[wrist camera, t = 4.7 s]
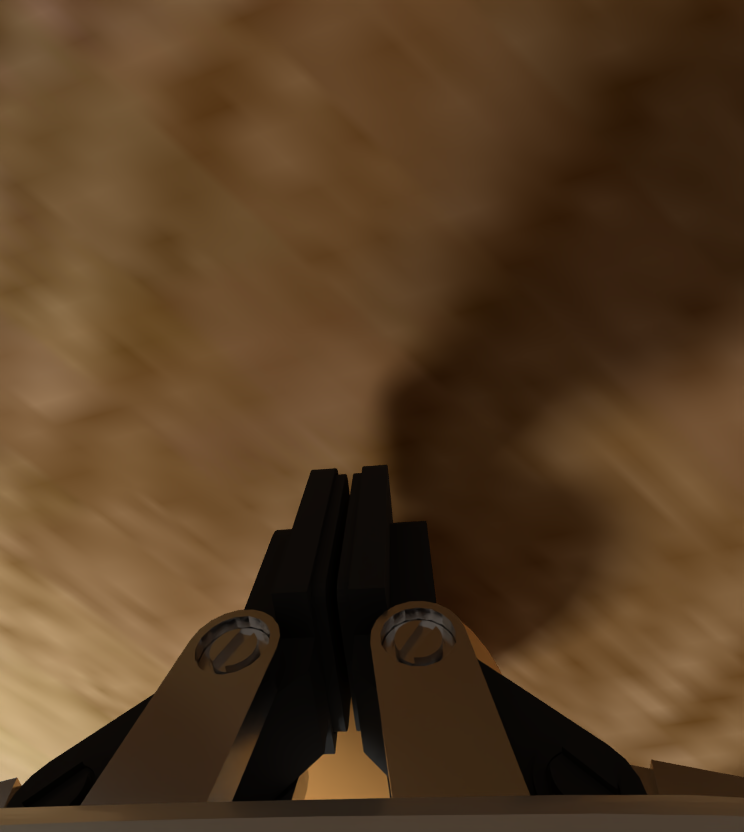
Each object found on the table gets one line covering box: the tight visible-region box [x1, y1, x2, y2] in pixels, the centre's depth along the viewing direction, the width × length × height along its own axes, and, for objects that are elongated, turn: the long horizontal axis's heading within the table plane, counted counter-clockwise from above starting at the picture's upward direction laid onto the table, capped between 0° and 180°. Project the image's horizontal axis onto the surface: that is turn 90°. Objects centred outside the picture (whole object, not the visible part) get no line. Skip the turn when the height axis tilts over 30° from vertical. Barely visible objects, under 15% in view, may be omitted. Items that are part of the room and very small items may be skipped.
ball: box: [304, 621, 502, 800], centre depth 11 cm, size 6×6×6 cm
